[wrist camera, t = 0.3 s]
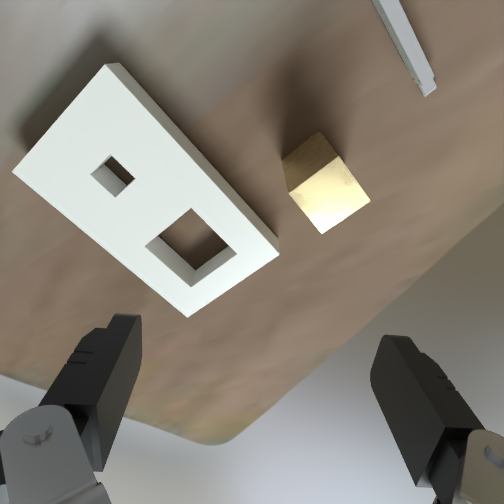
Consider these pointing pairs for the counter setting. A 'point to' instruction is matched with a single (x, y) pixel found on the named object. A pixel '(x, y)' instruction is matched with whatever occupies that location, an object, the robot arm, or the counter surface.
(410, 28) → the caliper
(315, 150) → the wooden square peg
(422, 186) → the counter surface
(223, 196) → the white peg hole board
